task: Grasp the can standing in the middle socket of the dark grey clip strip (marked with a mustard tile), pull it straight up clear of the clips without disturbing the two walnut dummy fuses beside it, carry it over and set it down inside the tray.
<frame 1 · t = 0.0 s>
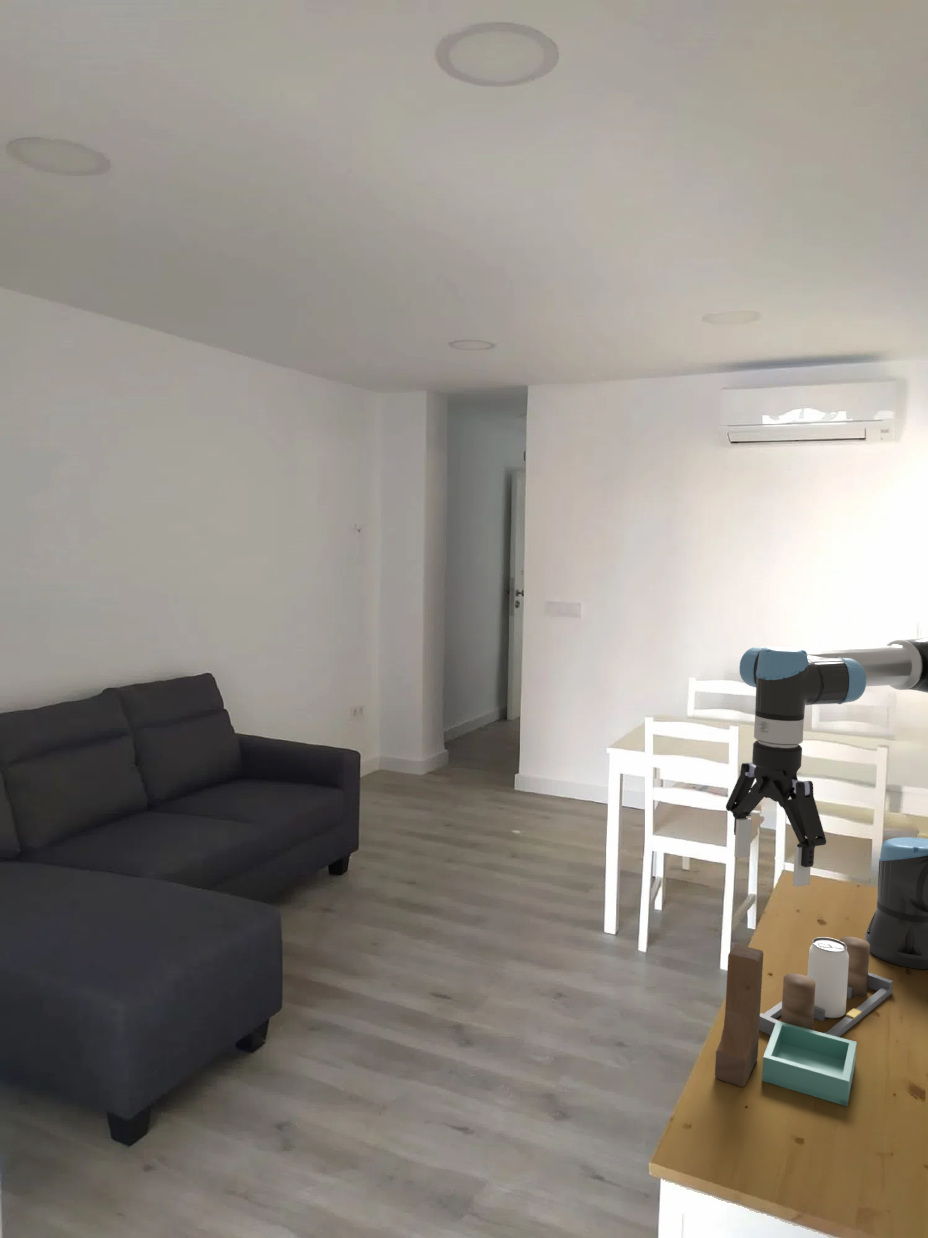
hand: (770, 870, 146), 28 cm above the table, fingers open, 13 cm apart
wooden block: (736, 1070, 138), on the table
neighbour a: (851, 989, 164), resting in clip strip
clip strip: (825, 1010, 157), on the table
can: (825, 1011, 157), resting in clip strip
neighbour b: (796, 1032, 149), resting in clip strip
tray: (809, 1073, 138), on the table
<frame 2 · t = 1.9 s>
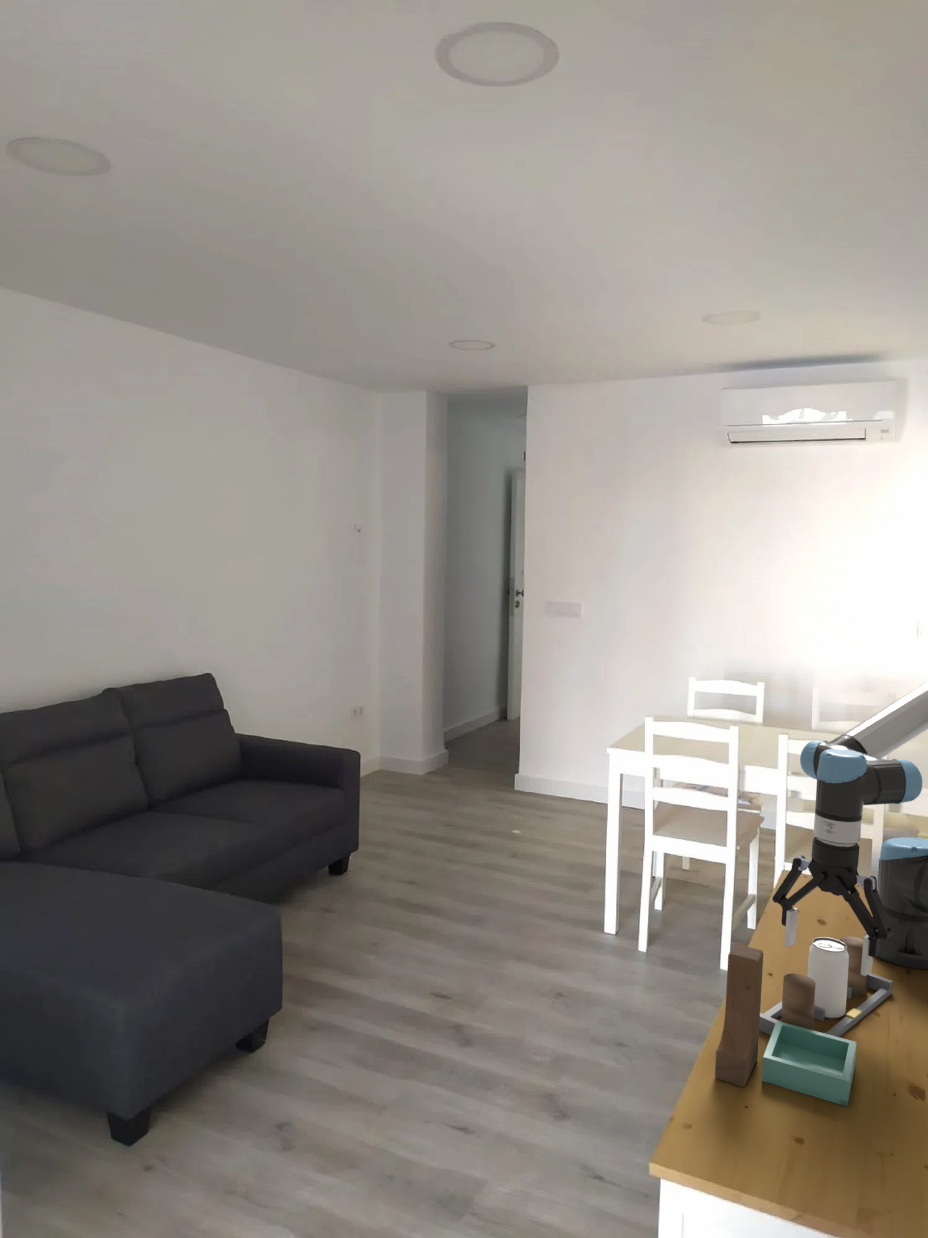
hand: (826, 958, 156), 9 cm above the table, fingers open, 13 cm apart
nothing on the table moved.
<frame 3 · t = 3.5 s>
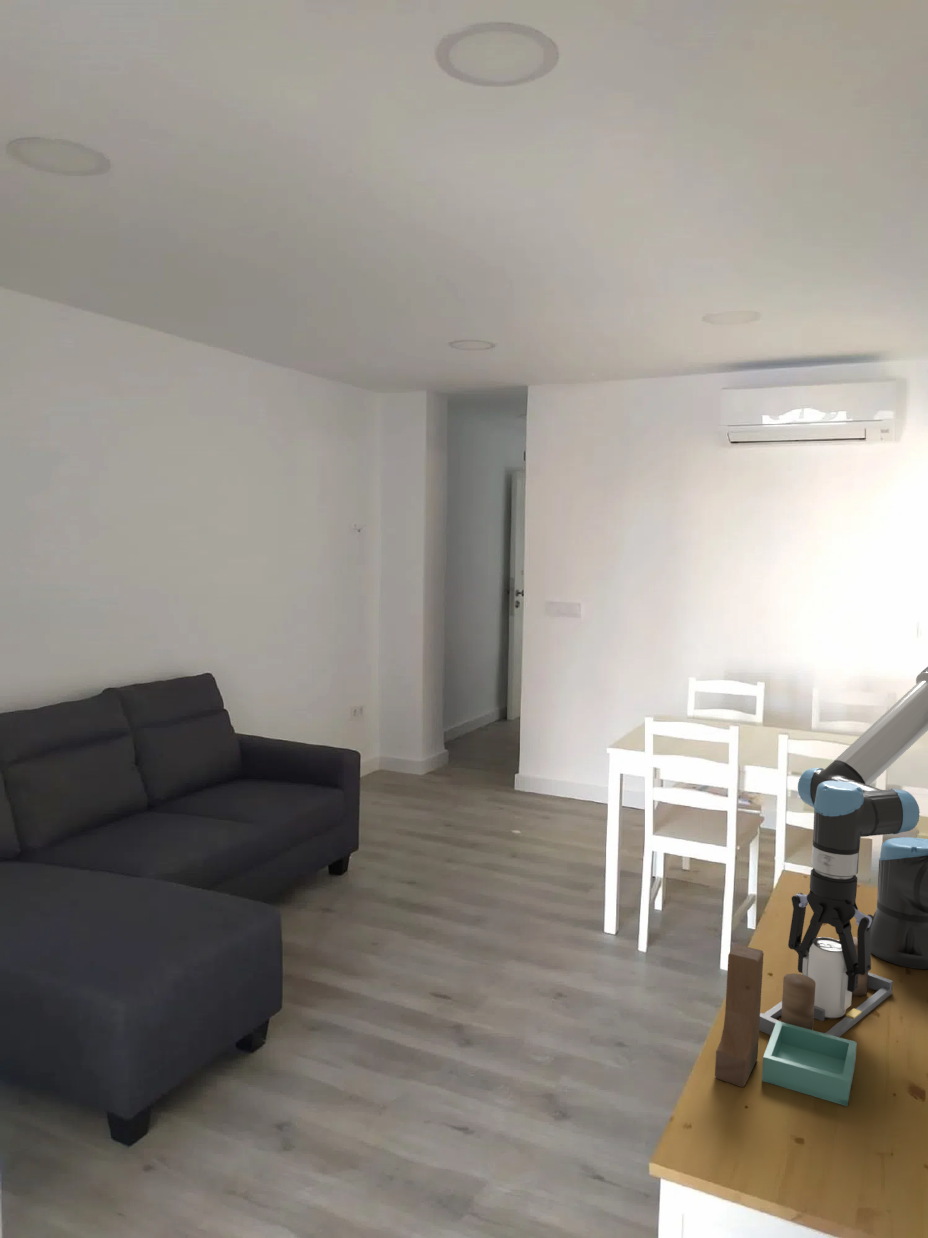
hand: (825, 999, 157), 2 cm above the table, fingers closed on can, 6 cm apart
can: (825, 1011, 157), resting in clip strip, touching gripper
everything else where it was.
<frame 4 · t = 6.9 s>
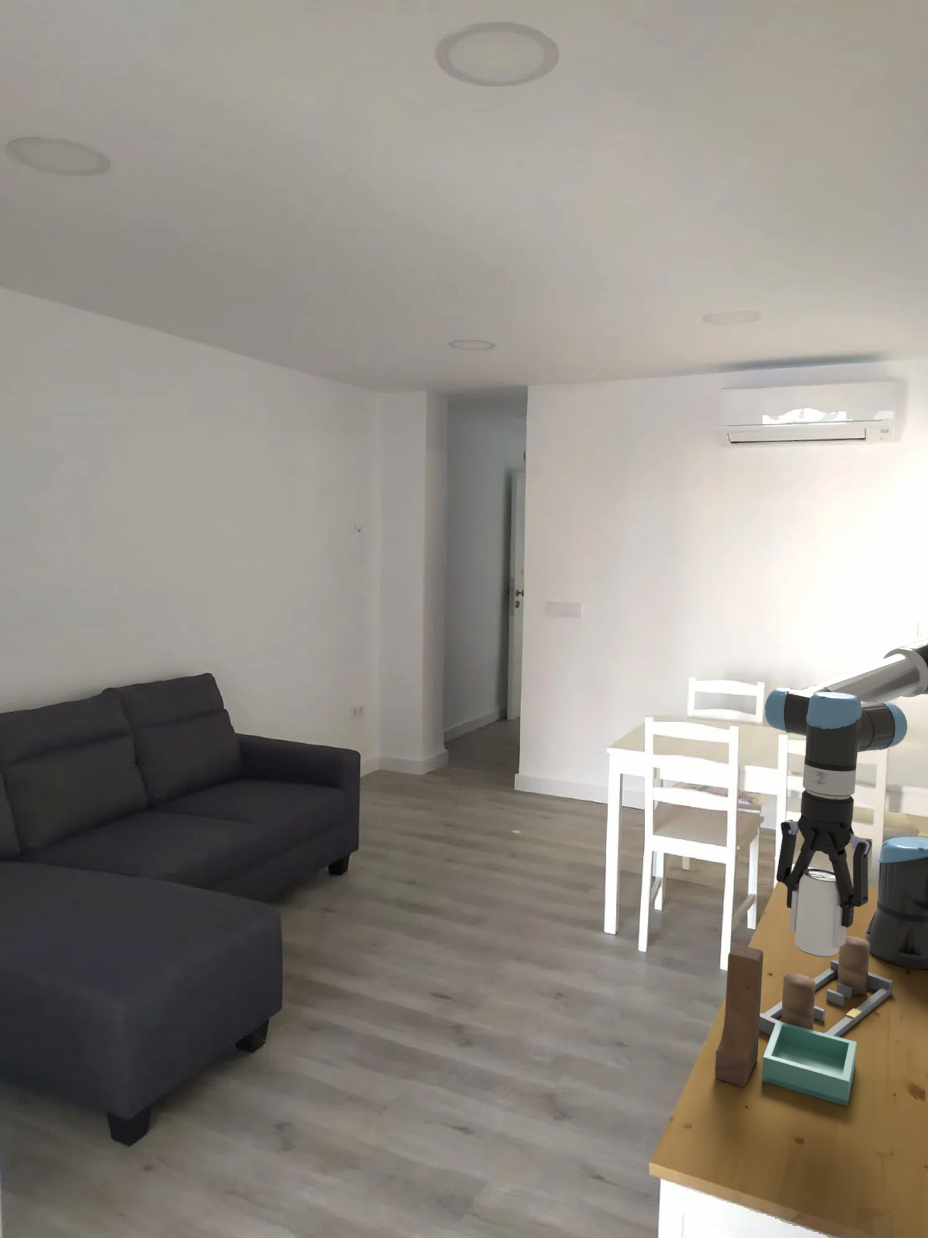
hand: (817, 937, 140), 20 cm above the table, fingers closed on can, 6 cm apart
can: (816, 950, 140), point 18 cm above the table, touching gripper
everything else where it was.
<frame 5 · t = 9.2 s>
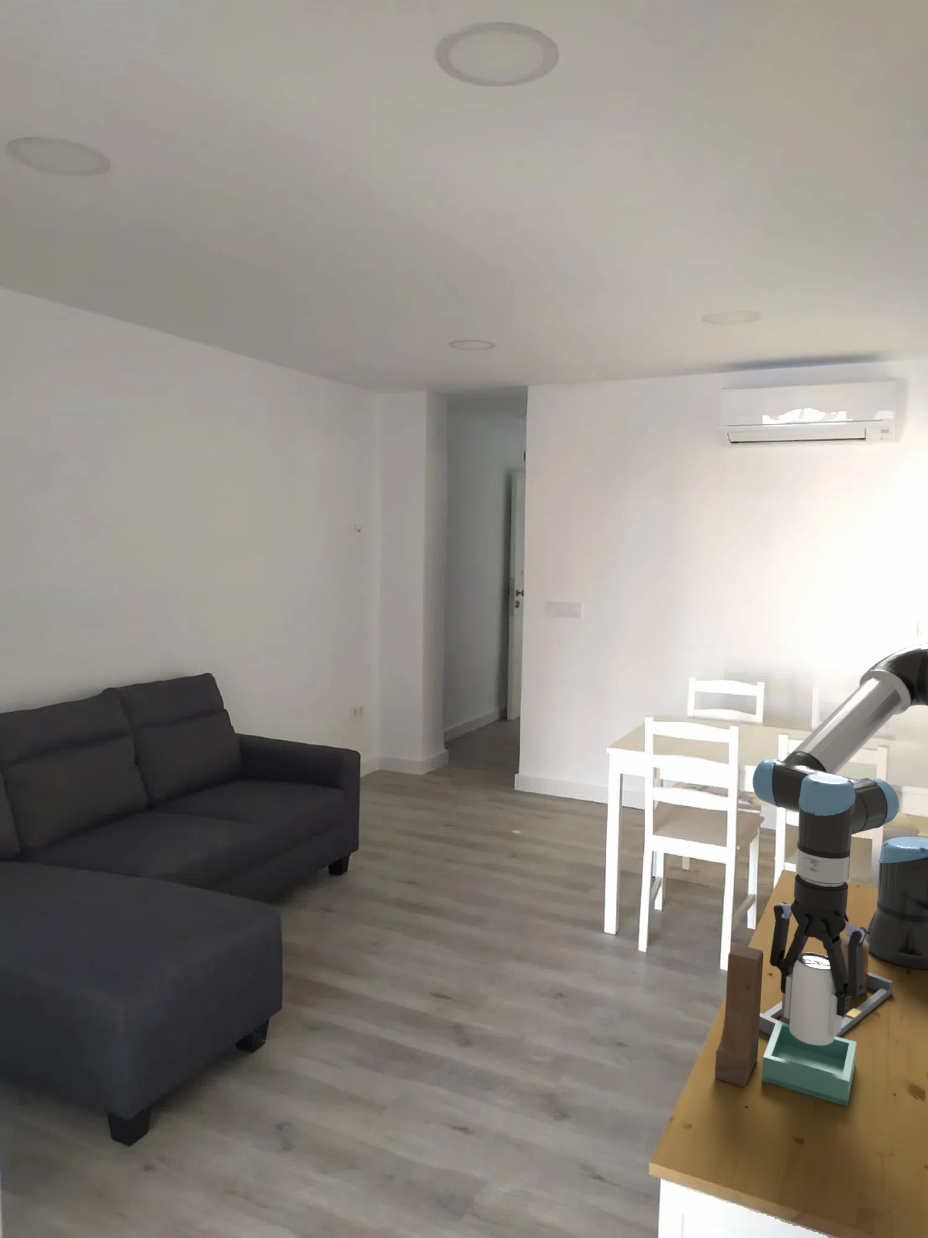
hand: (812, 1023, 137), 8 cm above the table, fingers closed on can, 6 cm apart
can: (811, 1037, 137), point 6 cm above the table, touching gripper
everything else where it was.
when the fingers open (5 cm above the table, at t = 10.7 s): can drops 2 cm, resting on tray.
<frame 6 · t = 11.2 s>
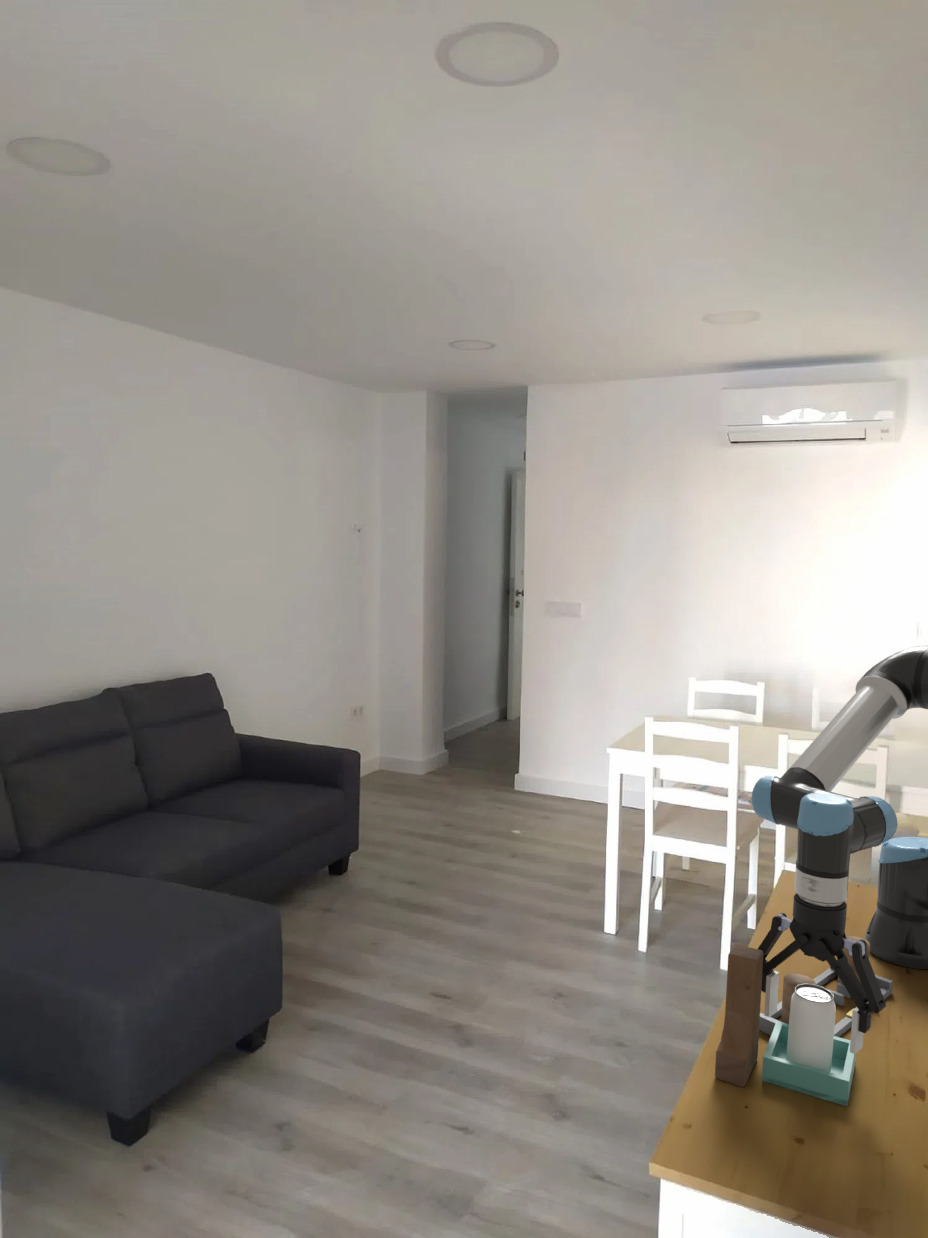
hand: (811, 1031, 137), 7 cm above the table, fingers open, 13 cm apart
can: (807, 1068, 138), point 1 cm above the table, touching tray
everything else where it was.
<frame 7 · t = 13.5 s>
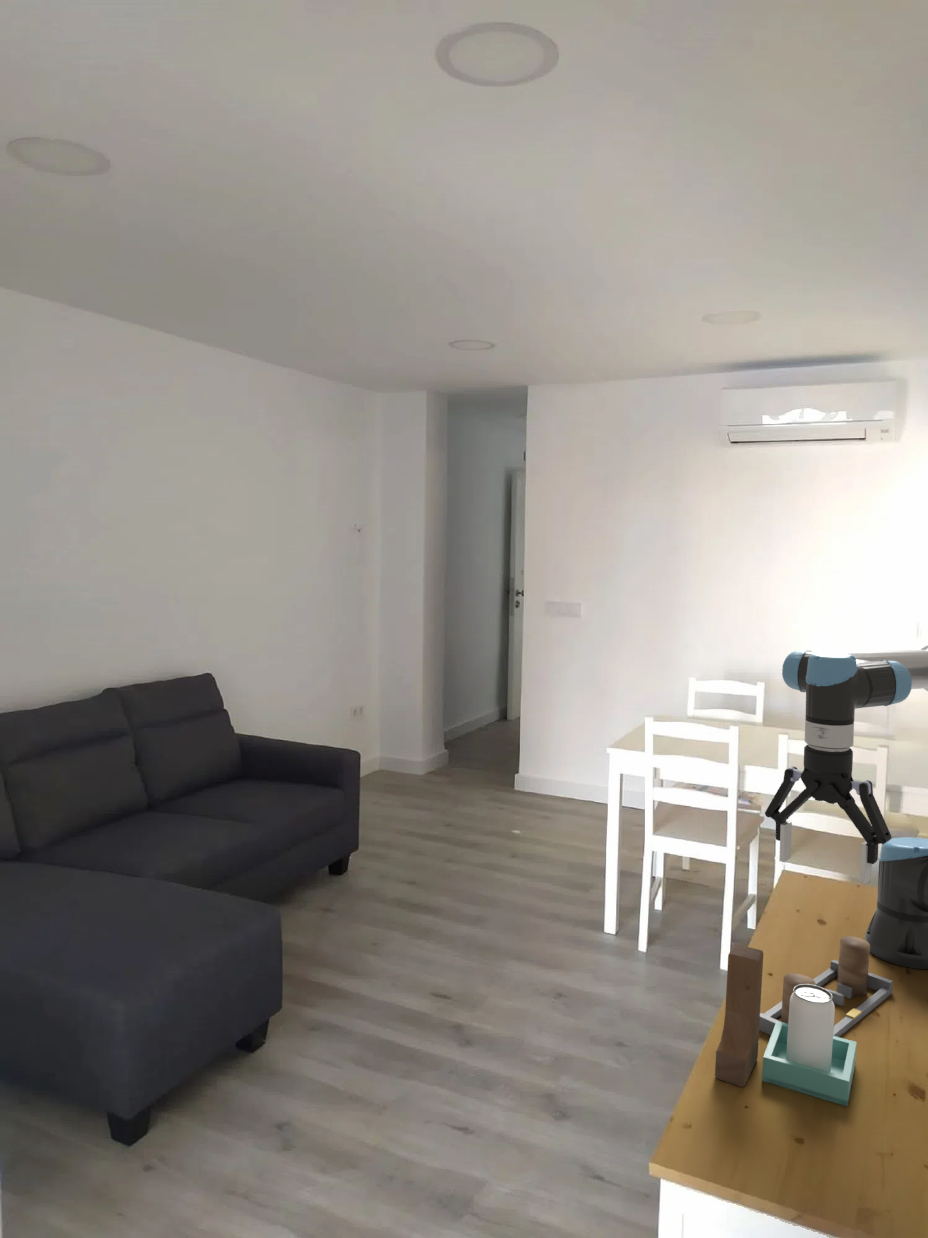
hand: (823, 870, 150), 27 cm above the table, fingers open, 13 cm apart
nothing on the table moved.
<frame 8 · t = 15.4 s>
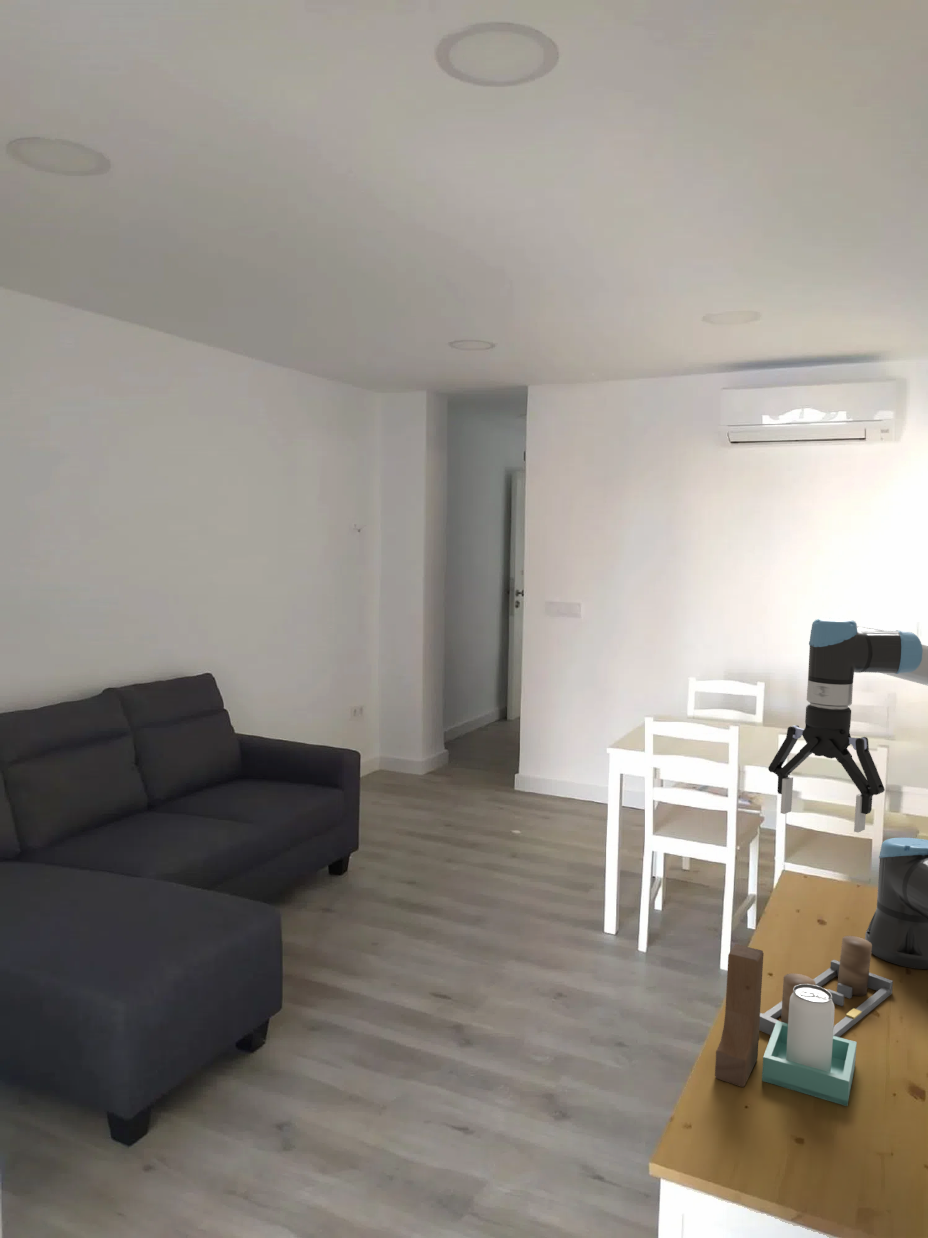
hand: (821, 821, 161), 32 cm above the table, fingers open, 13 cm apart
nothing on the table moved.
at the end: can inside the target area on the tray (0.3 cm from its centre), point 0.6 cm above the tray's base; can tilted 0°; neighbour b moved 0.0 cm from its start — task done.
